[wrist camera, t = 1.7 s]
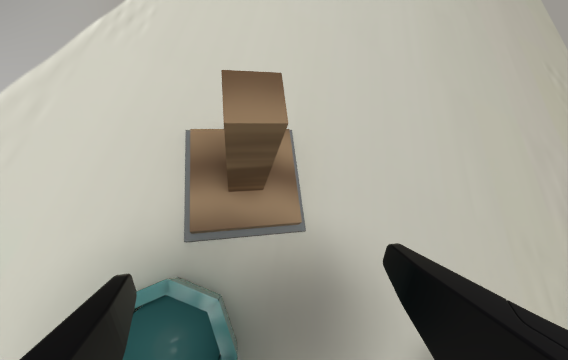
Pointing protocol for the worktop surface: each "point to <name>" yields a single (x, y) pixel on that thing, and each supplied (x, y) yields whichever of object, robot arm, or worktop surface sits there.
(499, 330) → the robot arm
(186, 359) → the bowl
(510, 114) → the worktop surface
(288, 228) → the mat
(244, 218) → the brown upright piece
